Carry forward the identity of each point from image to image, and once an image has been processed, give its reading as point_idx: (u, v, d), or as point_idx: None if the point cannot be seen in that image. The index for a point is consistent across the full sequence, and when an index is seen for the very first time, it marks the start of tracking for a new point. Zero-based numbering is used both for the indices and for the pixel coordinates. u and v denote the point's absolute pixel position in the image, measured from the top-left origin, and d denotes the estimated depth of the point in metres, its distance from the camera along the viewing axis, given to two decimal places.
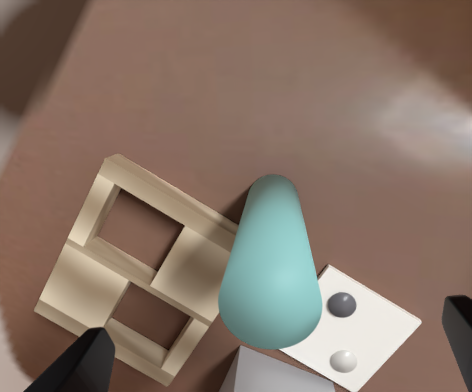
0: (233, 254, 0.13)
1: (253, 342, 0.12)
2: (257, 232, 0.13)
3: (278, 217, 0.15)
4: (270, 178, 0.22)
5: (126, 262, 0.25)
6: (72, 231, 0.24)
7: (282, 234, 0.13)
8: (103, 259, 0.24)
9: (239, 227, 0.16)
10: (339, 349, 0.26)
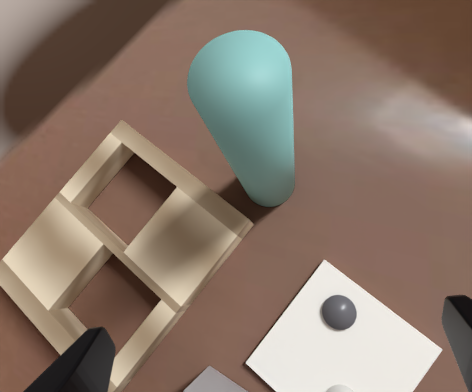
0: None
1: (215, 116, 0.11)
2: None
3: None
4: None
5: (107, 231, 0.24)
6: (66, 185, 0.24)
7: None
8: (85, 218, 0.23)
9: None
10: (335, 382, 0.20)
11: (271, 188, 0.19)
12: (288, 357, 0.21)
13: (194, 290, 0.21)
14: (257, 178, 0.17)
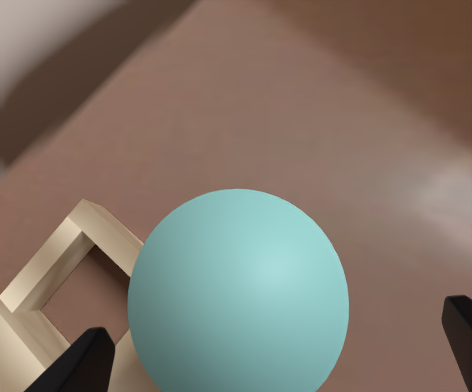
0: None
1: None
2: None
3: None
4: None
5: (61, 351, 0.18)
6: (8, 288, 0.18)
7: None
8: (30, 336, 0.17)
9: None
10: None
11: None
12: None
13: None
14: None
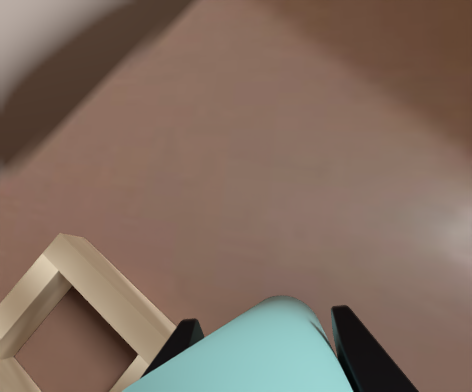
0: None
1: None
2: (237, 327, 0.06)
3: (287, 319, 0.07)
4: (282, 297, 0.15)
5: None
6: None
7: (294, 337, 0.05)
8: None
9: None
10: None
11: None
12: None
13: None
14: None
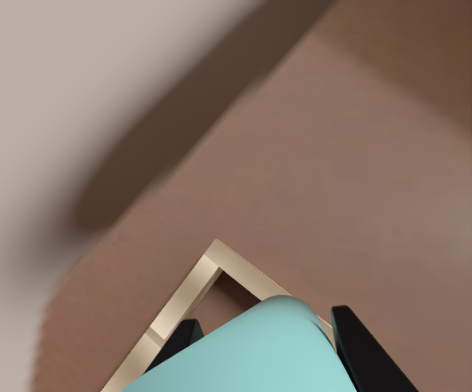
0: None
1: None
2: (238, 324, 0.06)
3: (289, 318, 0.07)
4: (283, 296, 0.15)
5: None
6: (157, 318, 0.21)
7: (296, 335, 0.05)
8: None
9: None
10: None
11: None
12: None
13: None
14: None
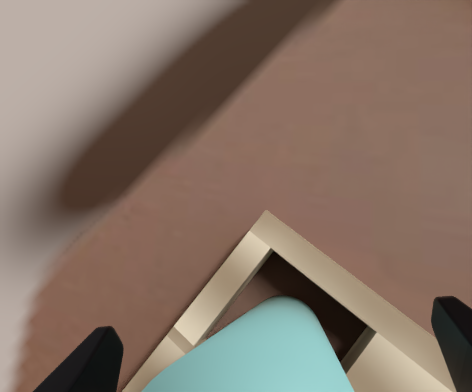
0: None
1: None
2: (247, 322, 0.07)
3: (289, 317, 0.08)
4: (283, 296, 0.16)
5: None
6: (184, 316, 0.15)
7: (296, 331, 0.06)
8: None
9: None
10: None
11: None
12: None
13: None
14: None
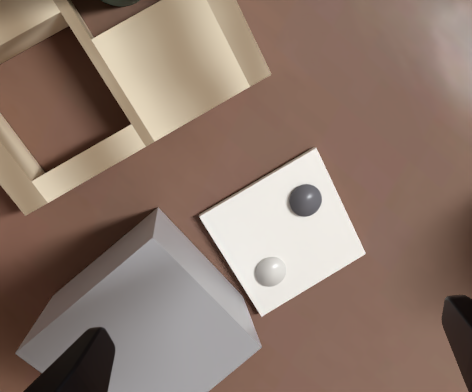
0: None
1: None
2: None
3: None
4: None
5: None
6: None
7: None
8: None
9: None
10: (273, 254, 0.21)
11: None
12: (242, 224, 0.20)
13: (175, 128, 0.17)
14: None
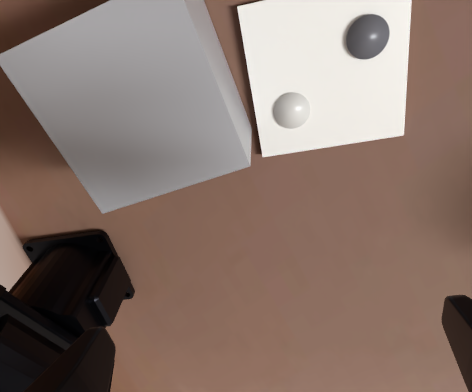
0: None
1: None
2: None
3: None
4: None
5: None
6: None
7: None
8: None
9: None
10: (302, 92, 0.18)
11: None
12: (282, 38, 0.17)
13: None
14: None
